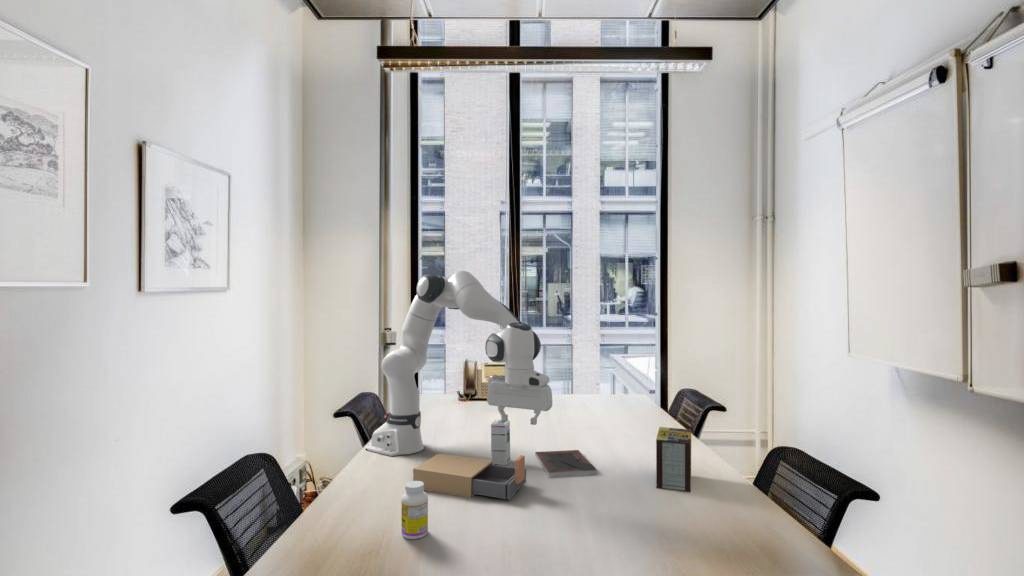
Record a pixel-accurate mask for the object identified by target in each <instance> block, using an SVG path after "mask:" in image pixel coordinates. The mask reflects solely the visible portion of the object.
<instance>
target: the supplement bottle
mask: <svg viewBox="0 0 1024 576" xmlns="http://www.w3.org/2000/svg"><path fill="white" fill-rule="evenodd" d="M404 486H405V488H404V489H405V493H404V494H403V495H402V496H401V501H400V503H401V535H402V536H403V538H404V539H407V540H419V539H421V538H424V537H425V536H427V534H428V531H429V495H428V494H427V492H425V490H424V483H423V482H421V481H413V480H412V481H408V482H406V483H405V485H404Z"/></svg>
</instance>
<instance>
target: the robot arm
mask: <svg viewBox="0 0 1024 576" xmlns="http://www.w3.org/2000/svg"><path fill="white" fill-rule="evenodd" d="M415 287H416V288H415V289H416V291H415V292H416V295H414V298H413V300H412V302H411V304H410V306H409V309H408V311H407V314H406V317H405V319H404V322H403V325H402V327H401V334H402V338H401V343H400V345H399V348H397V349H394V350H391V351H390V352H388V353H387V354H386V356H384V358H382V361H381V364H380V367H381V371H382V373H383V375H384V376H385V377H386V379H387V380H386V381H387V386H388V389H389V397H390V398H389V402H390V403H389V405H390V409H389V412H388V413H387V414H385V415H384V419H386V421H385V422H384V423H383V424H382V425H381V426H379V427H378V428H377V429H375V430H374V431H373V433H372V436H371V441H370V442H368V443H367V444H366V445H365V446H364V447H365V448H364V450H365V449H367V450H366V451H369V452H373V453H378V454H380V455H381V454H382V455H385V456H389V457H396V456H401V455H410V454H415V453H419V452H422V451H423V450H424V449H425V446H424V442H423V438H422V432H421V423H422V419H421V418H422V412H421V411H420V406H421V404H420V403H421V402H420V401H421V400H420V395H421V394H420V390H419V389H418V387H417V383H416V382H417V381H416V378H415V375H416V373H419V372H420V371H421V370H422V369H423V368H424V367H425V365H426V363H427V360H428V358H427V353H428V348H429V342H430V338H431V335H432V332H433V331H434V327H435V324H436V321H437V319H438V317H439V313H440V310H441V309H443V308H448V309H450V310H460V312H461V313H462V314H464V316H466V318H469V319H471V320H477V321H484V322H488V323H489V322H490V323H493V324H496V325H498V326H499V327H501V328H502V330H500V331H497V332H494V333H490V335H488V337H487V338H486V342H485V349H484V350H485V354H486V356H487V357H488V359H489V360H490V361H492V362H493V363H498V364H501V363H505V366H504V375H502V374H501V375H497V374H493V375H491V376H489V377H488V380H487V387H488V390H487V396H486V397H487V398H486V402H487V404H488V406H492V407H493V406H494V407H497V410H498V413H499V414H500V416H501V417H500V418H501V419H500V420H501V421H509V418H508V417H509V415H508V414H506V412H505V409H506V408H511V409H519V410H520V409H522V410H532V411H533V413H534V414H535V415H534V417H531V418H530V420H529V421H530V425H533V426H537V424H538V417H539V416H540V414H541V413H542V412H548V411H550V410H551V408H552V407H553V393H552V388H551V386H550V385H549V383H550V377H549V376H548V375H546V374H544V373H541V372H538V371H537V370H535V364H534V360H535V359H536V358H537V357H538V356H539V353H540V352H541V348H542V345H541V340H540V337H539V336H538V335H537V333H536V332H535V331H534V330H533V327H532V326H531V325H529V324H527V323H523V322H522V321H521V320H520V319H519V318H518V317H517V316H516V315H515V314H514V313H513V312H512V310H510V308H508V306H507V305H505V304H504V303H502V302H501V301H500V300H498V299H497V298H495V296H494V297H493V296H492V295H491V293H489V292H488V291H487V290H486V288H485V287H484V286H483V285H482V284H481V282H480V281H479V280H478V279H477V278H476V277H475V276H474V275H473V274H472V273H471V272H469V271H467V270H459V271H456V272H455V273H453V274H452V276H451V277H449V276H448V277H446V276H443V275H439V274H436V273H435V274H434V273H433V274H432V273H428V274H423V276H421V277H420V278H419V279H418V282H417V284H416V286H415Z"/></svg>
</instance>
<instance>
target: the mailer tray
mask: <svg viewBox="0 0 1024 576" xmlns="http://www.w3.org/2000/svg"><path fill="white" fill-rule="evenodd" d="M525 458H526V457H525V455H523V454H520V455H519V456H518V457H517V458H516V459H515V460H514V467H512V466H507V465H495V464H493V465H492V464H490V465H489V466H488V467H486V468H485V469H484V470H483V471H481V472H480V473H479V474H477V475H476V476H475V477H473V478H472V494H474V495H480V496H485V497H491V498H497V499H503V500H506V499H507V500H509V499H511V498H512V497H513V496H514V495H515V494H516V493H517V492H518V491H519V490H520V489H521V488H522V487H523V486H524V485H525V484H526V483H527V468H525V467H526V464H525V462H526V459H525Z"/></svg>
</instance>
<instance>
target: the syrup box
mask: <svg viewBox="0 0 1024 576" xmlns="http://www.w3.org/2000/svg"><path fill="white" fill-rule="evenodd" d="M510 425H511V423H510V420H508V421H501V419H495V420H494V421H493V422H492V423H491V424H490V440H491V441H490V446H491V447H490V449H491V450H490V451H491V457H490V458H491V460H490V461H493V465H495V464H499V466H507V465H508V464H509V462H510V461H511V427H510Z"/></svg>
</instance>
